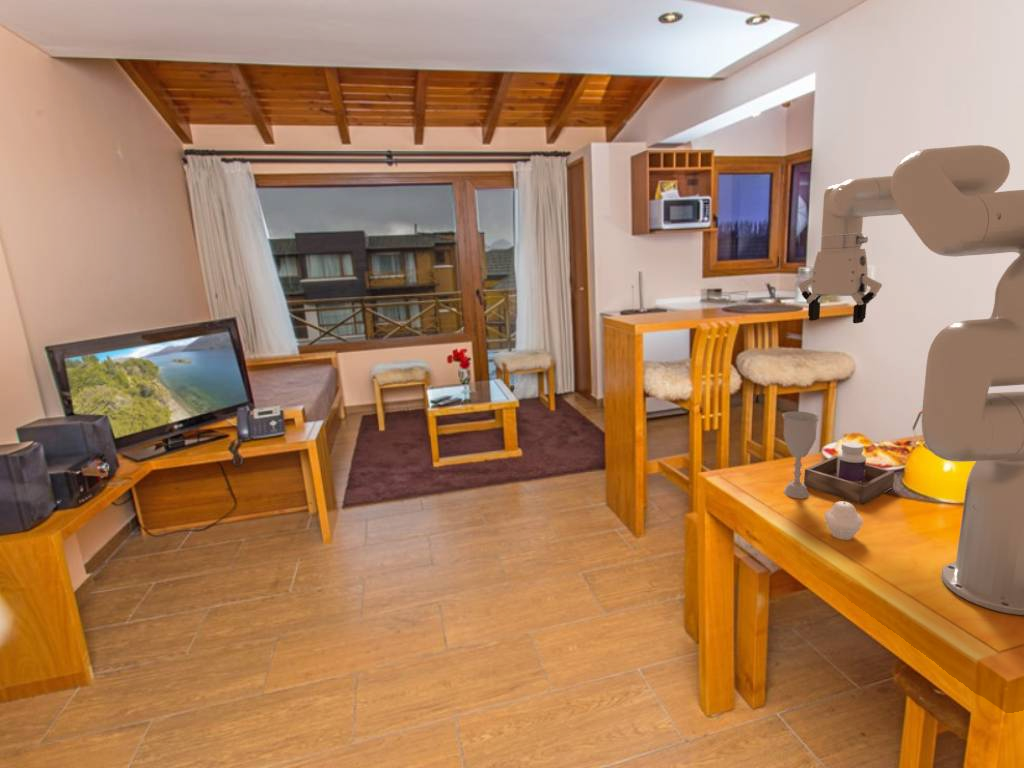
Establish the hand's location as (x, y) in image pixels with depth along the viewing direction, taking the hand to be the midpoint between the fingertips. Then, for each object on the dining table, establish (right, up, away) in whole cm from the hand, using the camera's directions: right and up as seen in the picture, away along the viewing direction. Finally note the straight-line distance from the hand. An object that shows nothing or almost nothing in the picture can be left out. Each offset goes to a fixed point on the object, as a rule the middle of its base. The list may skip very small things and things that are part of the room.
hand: (835, 321), depth 121 cm
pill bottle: (+2, -37, -2) cm, 37 cm away
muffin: (-11, -43, -20) cm, 49 cm away
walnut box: (+2, -38, -1) cm, 38 cm away
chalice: (-10, -39, -2) cm, 40 cm away
